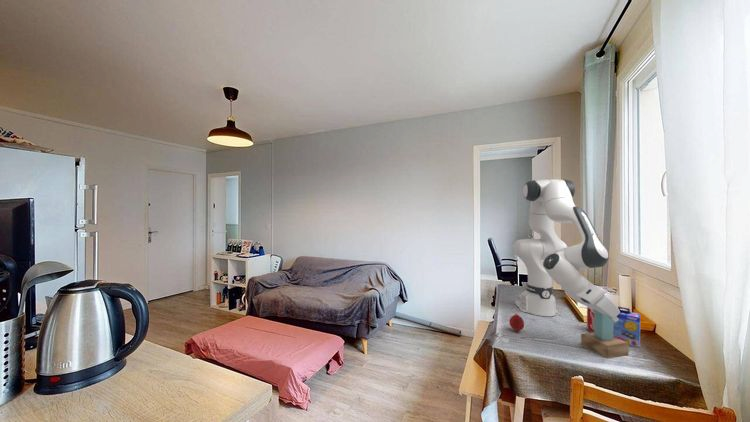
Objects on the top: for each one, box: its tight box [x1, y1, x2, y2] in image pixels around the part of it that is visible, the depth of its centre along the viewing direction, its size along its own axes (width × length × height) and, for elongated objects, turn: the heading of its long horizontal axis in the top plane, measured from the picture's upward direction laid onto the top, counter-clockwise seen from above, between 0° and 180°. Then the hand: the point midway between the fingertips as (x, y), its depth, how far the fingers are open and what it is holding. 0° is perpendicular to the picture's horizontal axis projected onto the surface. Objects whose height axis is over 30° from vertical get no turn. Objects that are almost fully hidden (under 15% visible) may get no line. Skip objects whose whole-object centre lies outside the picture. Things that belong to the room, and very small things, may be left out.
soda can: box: [586, 306, 595, 333], centre depth 122 cm, size 7×7×12 cm
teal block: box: [594, 310, 613, 340], centre depth 106 cm, size 4×4×10 cm
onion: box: [509, 312, 525, 332], centre depth 122 cm, size 6×6×8 cm
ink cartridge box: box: [613, 306, 641, 348], centre depth 113 cm, size 10×6×14 cm, turn 45°
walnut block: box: [580, 332, 629, 359], centre depth 106 cm, size 10×10×5 cm
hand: (605, 315), depth 106 cm, fingers open, 8 cm apart
